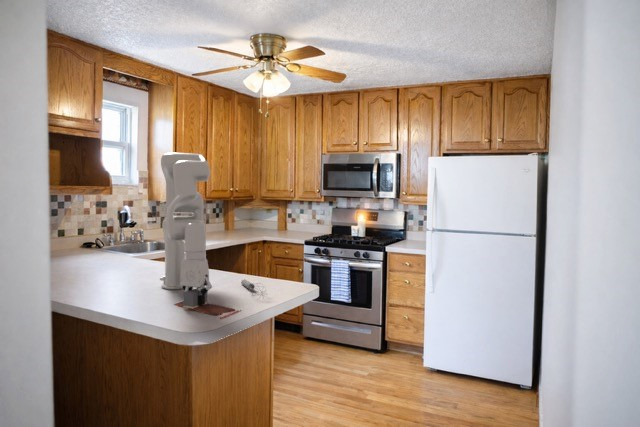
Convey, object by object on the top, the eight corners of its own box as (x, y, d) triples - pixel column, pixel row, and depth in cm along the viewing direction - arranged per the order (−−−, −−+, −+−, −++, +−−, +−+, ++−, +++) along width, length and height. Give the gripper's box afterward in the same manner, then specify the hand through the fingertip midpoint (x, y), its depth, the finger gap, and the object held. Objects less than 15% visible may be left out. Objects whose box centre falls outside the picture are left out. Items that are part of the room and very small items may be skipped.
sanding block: (183, 307, 162) (183, 292, 161) (198, 302, 169) (197, 287, 169) (192, 308, 160) (192, 293, 159) (207, 303, 167) (207, 289, 167)
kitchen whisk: (248, 283, 207) (248, 270, 207) (269, 301, 176) (269, 285, 176) (235, 284, 205) (235, 271, 204) (254, 302, 174) (254, 286, 173)
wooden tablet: (237, 312, 162) (237, 307, 162) (216, 318, 154) (216, 313, 154) (189, 300, 177) (189, 296, 177) (168, 306, 169) (168, 301, 169)
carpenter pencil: (219, 319, 151) (219, 317, 151) (239, 310, 161) (239, 308, 161) (221, 319, 151) (221, 317, 151) (241, 310, 161) (241, 309, 161)
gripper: (170, 255, 163) (170, 304, 165) (207, 258, 156) (207, 309, 157) (184, 252, 170) (185, 299, 171) (220, 255, 163) (220, 304, 164)
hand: (195, 303), depth 164 cm, fingers closed on sanding block, 4 cm apart
